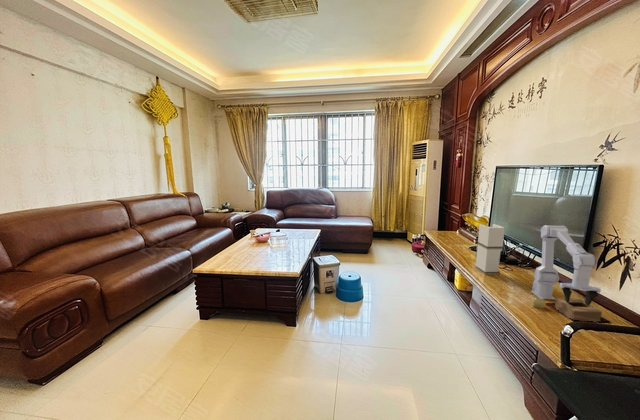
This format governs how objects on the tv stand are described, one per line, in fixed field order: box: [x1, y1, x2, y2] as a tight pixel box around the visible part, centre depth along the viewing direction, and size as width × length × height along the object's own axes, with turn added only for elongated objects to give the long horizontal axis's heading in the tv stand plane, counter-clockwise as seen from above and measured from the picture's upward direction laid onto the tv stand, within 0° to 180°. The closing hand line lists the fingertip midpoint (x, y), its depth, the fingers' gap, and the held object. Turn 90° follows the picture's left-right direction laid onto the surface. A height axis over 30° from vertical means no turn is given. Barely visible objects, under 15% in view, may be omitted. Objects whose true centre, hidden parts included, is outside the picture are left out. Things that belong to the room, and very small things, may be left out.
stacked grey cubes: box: [475, 223, 505, 276], centre depth 185 cm, size 11×11×35 cm
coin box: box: [554, 297, 603, 323], centre depth 132 cm, size 12×12×6 cm
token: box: [529, 297, 547, 309], centre depth 141 cm, size 3×6×4 cm, turn 82°
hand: (576, 302), depth 126 cm, fingers open, 7 cm apart
